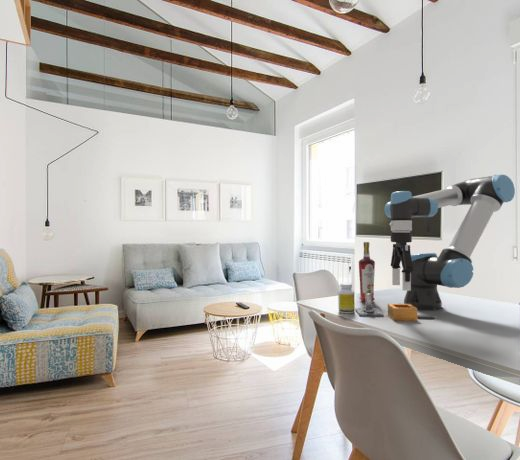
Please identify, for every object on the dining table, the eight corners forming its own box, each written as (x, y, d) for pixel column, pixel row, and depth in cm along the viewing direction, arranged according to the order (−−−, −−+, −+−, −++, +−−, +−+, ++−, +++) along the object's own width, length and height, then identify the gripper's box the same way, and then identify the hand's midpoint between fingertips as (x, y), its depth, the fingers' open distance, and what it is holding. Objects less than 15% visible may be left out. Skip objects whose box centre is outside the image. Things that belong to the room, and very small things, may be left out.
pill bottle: (355, 314, 143) (354, 285, 143) (338, 313, 144) (338, 284, 144) (354, 310, 149) (353, 282, 149) (338, 310, 151) (338, 282, 151)
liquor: (372, 300, 172) (371, 241, 172) (377, 303, 164) (377, 242, 164) (356, 300, 171) (356, 241, 172) (361, 303, 164) (361, 242, 164)
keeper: (355, 310, 150) (354, 291, 150) (377, 310, 149) (376, 291, 149) (359, 316, 139) (359, 296, 139) (383, 316, 138) (383, 296, 139)
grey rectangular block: (432, 317, 136) (432, 315, 136) (434, 319, 134) (434, 316, 134) (415, 317, 137) (415, 315, 137) (418, 318, 135) (418, 316, 135)
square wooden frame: (410, 315, 140) (409, 303, 140) (417, 320, 132) (417, 308, 132) (387, 315, 141) (387, 303, 141) (393, 320, 133) (393, 308, 133)
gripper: (383, 232, 149) (383, 282, 149) (400, 231, 124) (400, 292, 124) (401, 232, 149) (401, 283, 148) (422, 231, 124) (422, 293, 124)
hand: (401, 287), depth 136 cm, fingers open, 13 cm apart
